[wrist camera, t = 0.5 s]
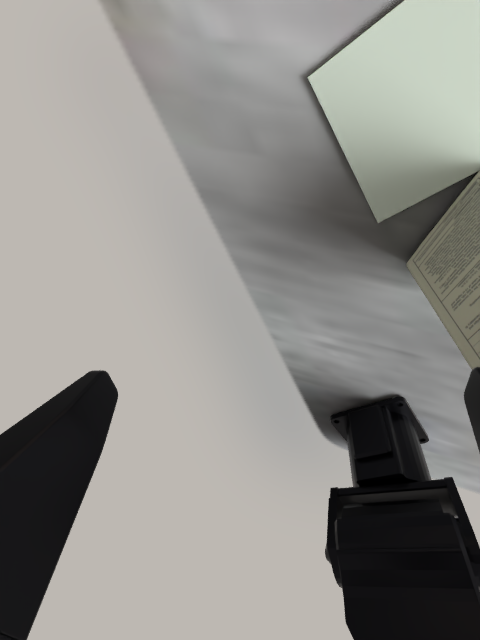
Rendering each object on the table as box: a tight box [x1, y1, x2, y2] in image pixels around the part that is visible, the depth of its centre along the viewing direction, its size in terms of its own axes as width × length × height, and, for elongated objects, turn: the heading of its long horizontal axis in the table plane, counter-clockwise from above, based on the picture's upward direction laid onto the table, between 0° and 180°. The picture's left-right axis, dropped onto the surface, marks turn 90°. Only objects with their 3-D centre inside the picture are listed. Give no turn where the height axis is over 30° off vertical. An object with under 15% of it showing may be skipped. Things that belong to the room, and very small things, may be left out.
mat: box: [308, 0, 480, 223], centre depth 15 cm, size 8×8×1 cm
